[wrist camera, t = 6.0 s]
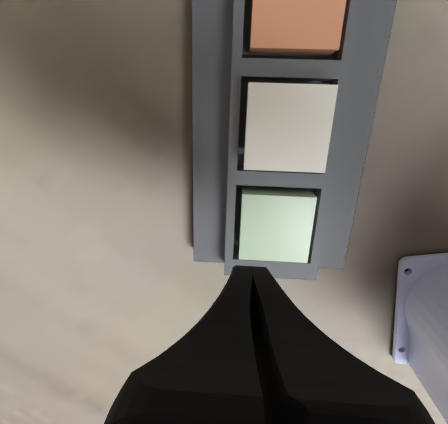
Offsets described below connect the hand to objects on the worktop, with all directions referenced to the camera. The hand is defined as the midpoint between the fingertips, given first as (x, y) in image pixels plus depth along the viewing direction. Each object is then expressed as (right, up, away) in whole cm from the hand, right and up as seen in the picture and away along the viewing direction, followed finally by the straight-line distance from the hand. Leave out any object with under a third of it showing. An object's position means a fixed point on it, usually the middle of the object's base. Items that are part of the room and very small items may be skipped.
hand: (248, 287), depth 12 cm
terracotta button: (+2, +13, +2) cm, 13 cm away
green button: (+2, +3, +6) cm, 7 cm away
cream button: (+2, +8, +4) cm, 9 cm away
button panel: (+2, +8, +6) cm, 11 cm away
